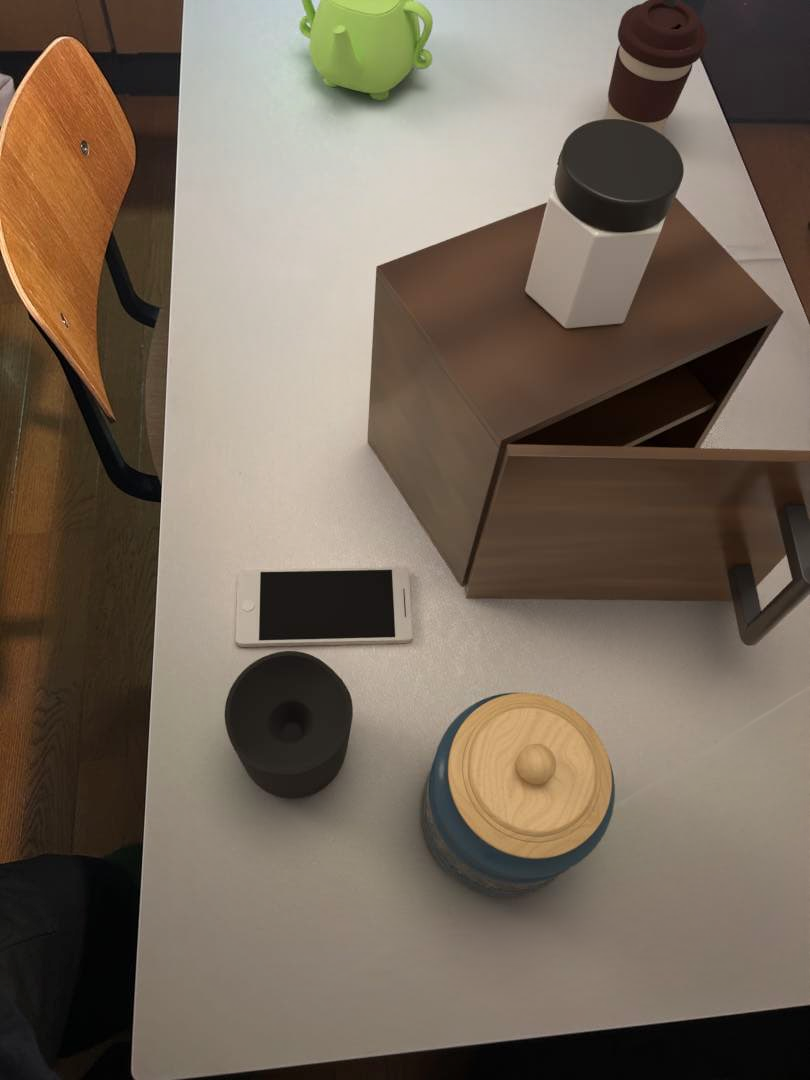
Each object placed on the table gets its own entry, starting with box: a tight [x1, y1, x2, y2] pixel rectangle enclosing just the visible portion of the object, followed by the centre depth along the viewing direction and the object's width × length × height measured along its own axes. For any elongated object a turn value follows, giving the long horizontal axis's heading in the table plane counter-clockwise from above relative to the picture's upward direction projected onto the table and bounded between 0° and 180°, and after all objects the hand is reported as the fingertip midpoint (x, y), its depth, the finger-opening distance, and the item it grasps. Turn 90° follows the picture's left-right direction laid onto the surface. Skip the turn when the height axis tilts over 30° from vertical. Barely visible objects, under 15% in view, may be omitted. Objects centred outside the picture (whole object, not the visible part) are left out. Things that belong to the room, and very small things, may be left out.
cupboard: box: [367, 196, 784, 588], centre depth 82 cm, size 18×26×24 cm
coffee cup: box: [603, 0, 708, 134], centre depth 110 cm, size 10×10×15 cm
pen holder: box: [224, 650, 354, 799], centre depth 73 cm, size 9×9×10 cm
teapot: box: [298, 0, 434, 101], centre depth 113 cm, size 16×14×13 cm
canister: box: [420, 692, 616, 898], centre depth 68 cm, size 13×13×18 cm
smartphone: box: [235, 566, 414, 648], centre depth 83 cm, size 7×15×1 cm, turn 93°
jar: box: [525, 118, 685, 328], centre depth 66 cm, size 9×8×12 cm
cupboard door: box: [464, 444, 810, 647], centre depth 74 cm, size 8×26×24 cm, turn 91°
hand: (755, 32), depth 68 cm, fingers open, 13 cm apart
